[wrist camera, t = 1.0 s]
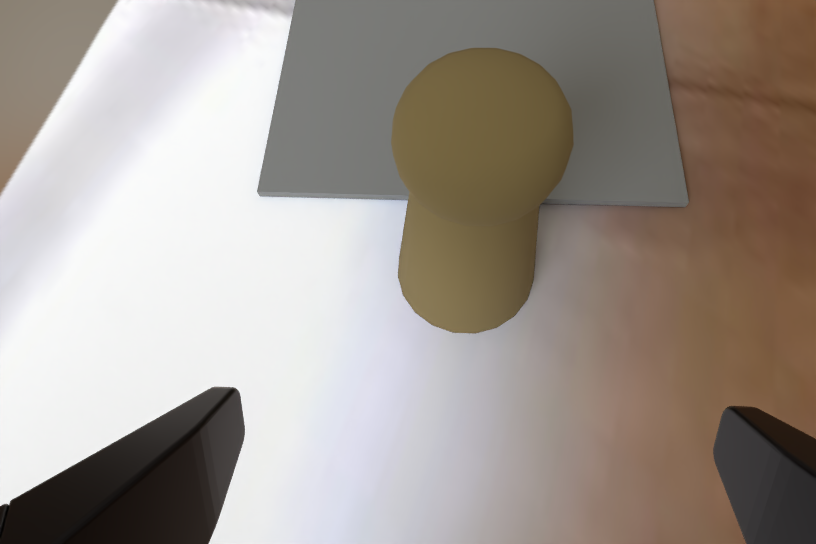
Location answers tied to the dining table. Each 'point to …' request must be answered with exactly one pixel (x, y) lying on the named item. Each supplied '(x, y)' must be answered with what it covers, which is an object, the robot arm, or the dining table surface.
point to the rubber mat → (458, 30)
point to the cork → (476, 183)
